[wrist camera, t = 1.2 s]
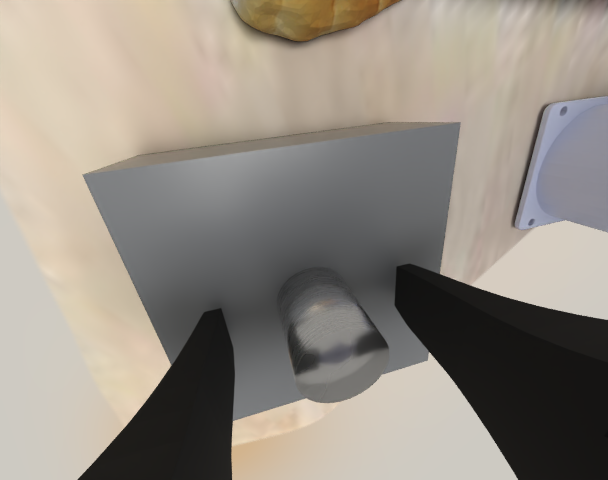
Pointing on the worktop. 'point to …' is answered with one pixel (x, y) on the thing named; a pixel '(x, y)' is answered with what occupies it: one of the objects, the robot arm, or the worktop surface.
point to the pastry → (307, 15)
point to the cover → (287, 250)
